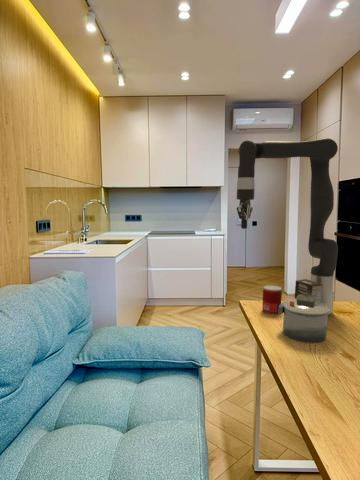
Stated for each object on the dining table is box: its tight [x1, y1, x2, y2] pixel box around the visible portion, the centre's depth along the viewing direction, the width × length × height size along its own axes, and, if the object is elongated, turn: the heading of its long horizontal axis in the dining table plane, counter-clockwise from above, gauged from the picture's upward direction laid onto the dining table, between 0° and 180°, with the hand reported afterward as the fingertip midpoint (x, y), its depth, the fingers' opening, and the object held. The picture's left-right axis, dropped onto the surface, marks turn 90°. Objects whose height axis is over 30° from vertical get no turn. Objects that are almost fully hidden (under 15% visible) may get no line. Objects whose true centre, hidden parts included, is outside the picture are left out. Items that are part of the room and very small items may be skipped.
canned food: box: [261, 284, 283, 315], centre depth 146 cm, size 8×8×11 cm
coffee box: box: [294, 278, 322, 302], centre depth 136 cm, size 9×6×16 cm
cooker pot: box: [278, 302, 329, 344], centre depth 121 cm, size 17×15×10 cm
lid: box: [282, 298, 330, 315], centre depth 120 cm, size 16×16×3 cm
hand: (244, 228), depth 143 cm, fingers closed
